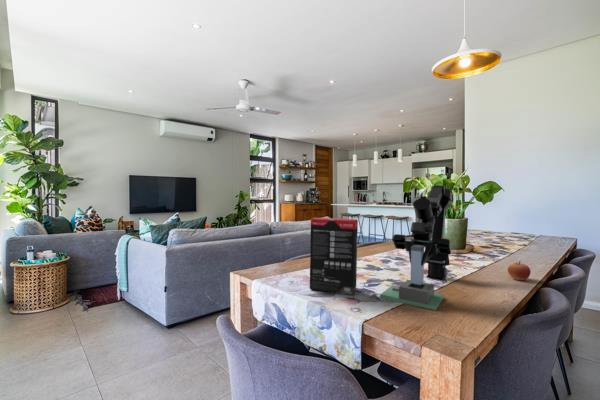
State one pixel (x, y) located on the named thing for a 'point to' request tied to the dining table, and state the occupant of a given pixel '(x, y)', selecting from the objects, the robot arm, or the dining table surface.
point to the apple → (519, 271)
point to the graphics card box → (333, 255)
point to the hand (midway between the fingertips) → (416, 264)
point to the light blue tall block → (417, 264)
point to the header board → (396, 295)
